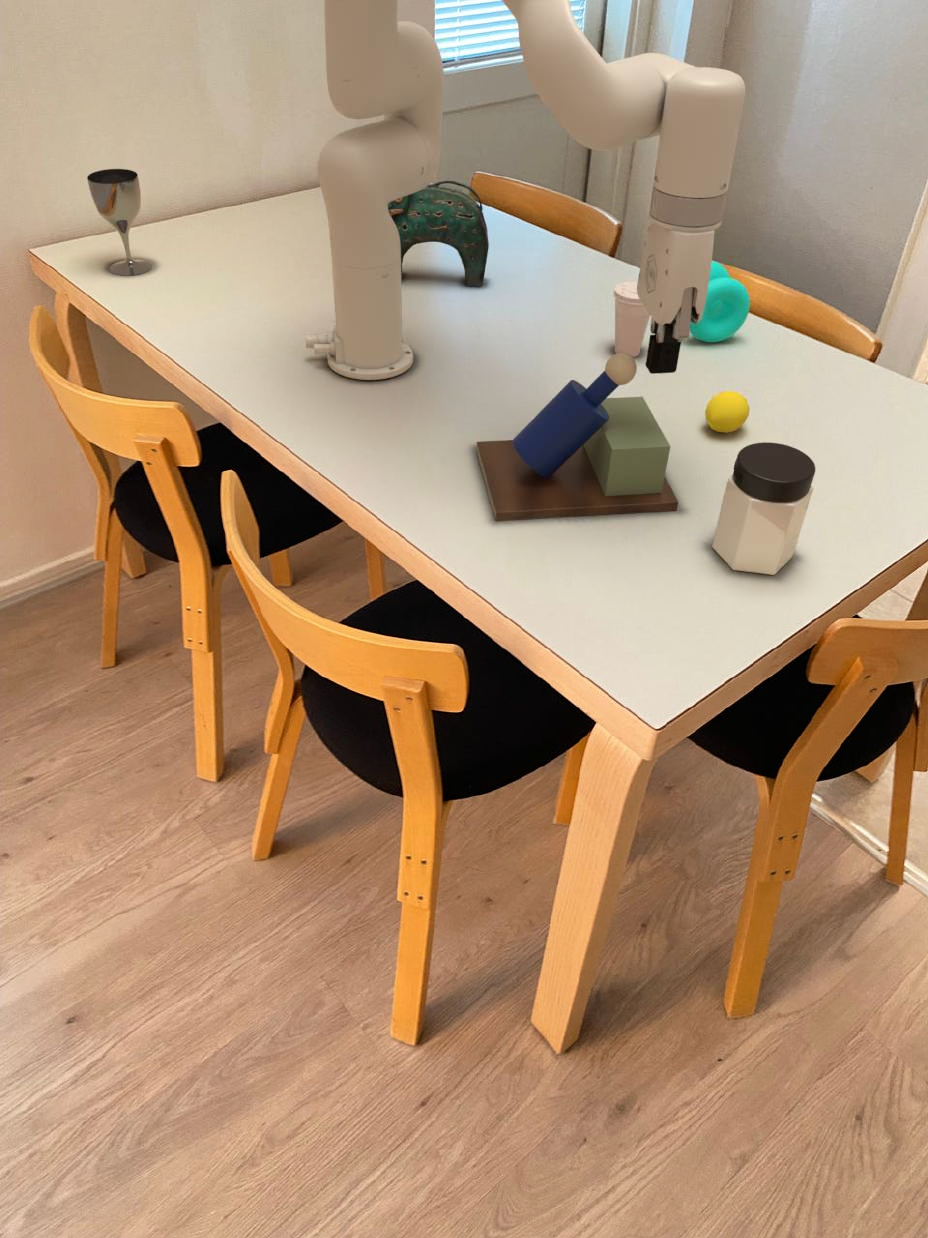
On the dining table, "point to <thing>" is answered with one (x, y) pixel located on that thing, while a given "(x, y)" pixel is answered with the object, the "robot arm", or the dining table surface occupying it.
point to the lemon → (727, 411)
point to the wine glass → (119, 210)
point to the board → (555, 488)
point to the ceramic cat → (445, 224)
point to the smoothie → (629, 319)
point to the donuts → (722, 307)
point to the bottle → (571, 418)
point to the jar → (764, 507)
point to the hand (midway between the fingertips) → (660, 369)
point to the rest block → (629, 449)
